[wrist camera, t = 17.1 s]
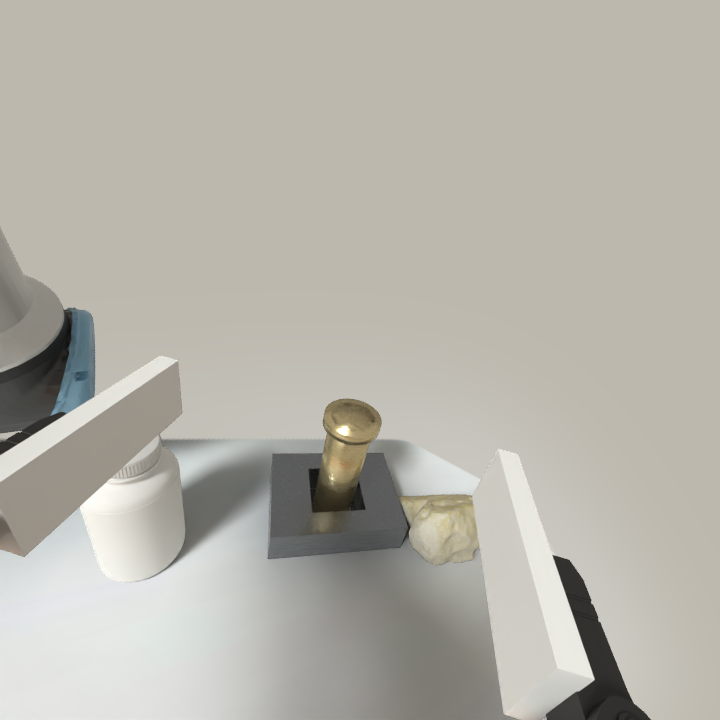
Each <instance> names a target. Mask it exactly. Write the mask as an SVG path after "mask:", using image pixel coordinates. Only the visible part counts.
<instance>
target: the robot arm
mask: <svg viewBox="0 0 720 720" xmlns="http://www.w3.org/2000/svg"><path fill="white" fill-rule="evenodd" d="M94 393H95V335H94V323H93V317H92V315H91V314H90V313H89V312H87V311H85V310H77V309H76V308H67V309H66V310H64V309H63V306H62V304H61V302H60V300H59V298H58V297H57V296H56V294H55V293H54V292H53V291H52V290H51V289H50V288H48V287H47V286H46V285H44V284H43V283H41V282H39V281H37V280H35V279H33V278H31V277H28V276H26V275H23V273H22V271H21V269H20V267H19V265H18V263H17V261H16V259H15V257H14V255H13V253H12V251H11V249H10V247H9V245H8V243H7V240H6V238H5V236H4V234H3V232H2V230H1V228H0V433H7V432H14V431H22V432H21V433H19V432H18V433H16V434H15V435H13V436H11V437H10V438H8V439H7V440H6V442H1V443H0V549H2V550H5V551H8V552H11V553H14V554H17V555H20V556H23V557H25V556H26V555H27V554H28V553H29V552H30V551H32V550H33V549H34V548H35V547H36V546H37V545H38V544H39V543H40V542H41V541H43V540H44V539H45V538H46V537H47V536H48V535H49V534H50V533H51V532H52V531H53V530H55V529H56V528H57V527H58V526H59V525H60V524H61V523H62V522H63V521H64V520H66V519H67V518H68V517H69V516H70V515H71V514H72V513H73V512H74V511H75V510H77V509H78V508H79V507H80V506H81V505H82V504H83V503H84V502H85V501H86V500H88V499H89V498H90V497H91V496H92V495H93V494H94V493H95V492H96V491H97V490H98V489H100V488H101V487H102V486H103V485H104V484H105V483H106V482H107V481H108V480H109V479H111V478H112V477H113V476H114V475H115V474H116V473H117V472H118V471H119V470H120V469H122V468H123V467H124V466H125V465H126V464H127V463H128V462H129V461H130V460H131V459H133V458H134V457H135V456H136V455H137V454H138V453H139V452H140V451H141V450H142V449H143V448H145V447H146V446H147V445H148V444H149V443H150V442H151V441H152V440H153V439H154V438H156V437H157V436H158V435H159V434H160V433H161V432H162V431H163V430H164V429H165V428H167V427H168V426H169V425H170V424H171V423H172V422H173V421H174V420H175V419H176V418H178V417H179V416H180V415H181V414H182V404H181V391H180V378H179V366H178V360H175V359H171V358H168V357H164V356H159V357H158V358H156V359H154V360H153V361H151V362H150V363H148V364H146V365H145V366H143V367H142V368H140V369H139V370H137V371H135V372H134V373H132V374H130V375H129V376H127V377H125V378H124V379H122V380H121V381H119V382H118V383H116V384H114V385H113V386H111V387H109V388H108V389H106V390H105V391H103V392H101V393H100V394H98V395H97V396H95V397H94ZM472 499H473V506H474V513H475V520H476V527H477V533H478V540H479V547H480V554H481V561H482V568H483V575H484V582H485V589H486V596H487V603H488V609H489V616H490V623H491V630H492V637H493V644H494V651H495V658H496V665H497V672H498V679H499V686H500V692H501V699H502V706H503V713H504V715H507V716H511V717H514V718H517V719H520V720H541V719H543V718H544V717H545V716H546V717H547V720H651V719H650V718H649V717H648V716H647V715H646V714H645V713H644V712H643V711H642V710H641V709H640V708H638V707H637V706H636V705H635V704H634V703H633V701H632V699H631V697H630V695H629V693H628V691H627V688H626V686H625V683H624V681H623V679H622V676H621V673H620V671H619V669H618V666H617V663H616V661H615V658H614V656H613V654H612V651H611V649H610V646H609V643H608V641H607V638H606V636H605V633H604V631H603V628H602V626H601V623H600V622H598V616H597V613H596V611H595V608H594V606H593V605H592V604H591V598H590V596H589V593H588V591H587V588H586V586H585V583H584V580H583V579H582V577H581V576H580V575H579V573H578V572H577V570H576V569H575V567H574V566H573V565H572V563H571V562H570V560H568V559H564V558H561V557H558V556H554V555H552V553H551V550H550V547H549V544H548V541H547V538H546V535H545V532H544V529H543V526H542V523H541V520H540V518H539V515H538V512H537V509H536V506H535V503H534V500H533V497H532V494H531V491H530V488H529V485H528V482H527V480H526V476H525V474H524V471H523V468H522V465H521V462H520V459H519V456H518V454H515V453H512V452H508V451H505V450H501V449H497V452H496V453H495V455H494V457H493V459H492V461H491V462H490V464H489V466H488V468H487V470H486V472H485V474H484V475H483V477H482V479H481V481H480V483H479V485H478V486H477V488H476V490H475V492H474V494H473V496H472Z"/></svg>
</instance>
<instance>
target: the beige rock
mask: <svg viewBox="0 0 720 720" xmlns="http://www.w3.org/2000/svg"><path fill="white" fill-rule="evenodd" d="M398 499H399V502H400V505H401V508H402V511H403V514H404V517H405V520H406V521H407V523H408V524H409V526H410V527H411V528H410V530H409V541H410V544H411V545H412V547H413V548H414V549H415V550H416V551H417V552H418V553H419V554H420V555H421V556H422V557H423V558H424V559H425V560H426V561H429V562H430V563H432V564H434V565H442V564H444V563H446V562H447V561H451V562H454V563H462V562H464V561H470V560H472V559H473V558H474V551H475V550H476V549H477V548H479V540H478V533H477V527H476V520H475V513H474V506H473V499H472V496H468V495H428V496H402V497H398Z"/></svg>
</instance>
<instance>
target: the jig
mask: <svg viewBox="0 0 720 720" xmlns="http://www.w3.org/2000/svg"><path fill="white" fill-rule="evenodd" d="M322 456H323V453H321V454H273V456H272V466H271V480H270V508H269V536H268V559H276V558H287V557H298V556H310V555H321V554H333V553H344V552H355V551H367V550H378V549H390V548H400V546H401V544H402V541H403V539H404V537H405V534H406V532H407V530H408V526H407V523H406V520H405V517H404V514H403V511H402V508H401V505H400V502H399V499H398V496H397V493H396V490H395V488H394V485H393V482H392V479H391V476H390V473H389V470H388V467H387V464H386V461H385V458H384V455H383V453H366V456H365V460H364V463H363V467H362V470H361V474H360V477H359V481H358V484H357V488H356V492H355V495H354V499H353V501H354V505H355V510H356V511H337V512H318V513H312V505H311V494H310V489H311V488H316V486H317V481H318V476H319V471H320V466H321V461H322Z"/></svg>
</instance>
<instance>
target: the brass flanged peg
mask: <svg viewBox="0 0 720 720" xmlns="http://www.w3.org/2000/svg"><path fill="white" fill-rule="evenodd" d="M323 426H324V429H325V430H326V432H327V436H326V441H325V446H324V451H323V456H322V461H321V466H320V471H319V476H318V481H317V486H316V491H315V496H314V501H313V507H312V511H313V513H318V512H337V511H350V509H351V506H352V502H353V499H354V495H355V492H356V488H357V484H358V481H359V477H360V474H361V470H362V467H363V463H364V460H365V456H366V453H367V449H368V446H369V443H370V442H372V441H374V440H375V439H376V438H377V436H378V433H379V430H380V427H381V417H380V415H379V413H378V412H377V411H376V410H375V409H374V408H373V407H371V406H370V405H368V404H367V403H364V402H362V401H359V400H354V399H340V400H336V401H333V402H332V403H330V404H329V405H328V406H327V407H326V409H325V413H324V419H323Z"/></svg>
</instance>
